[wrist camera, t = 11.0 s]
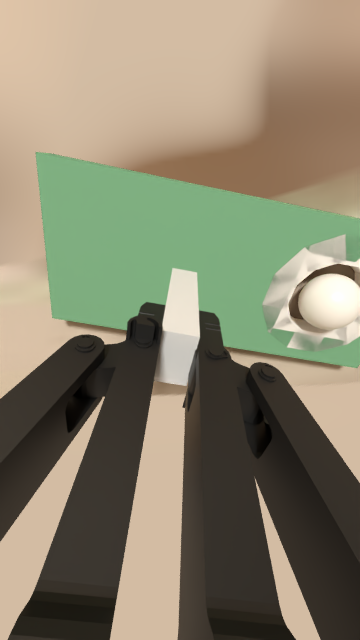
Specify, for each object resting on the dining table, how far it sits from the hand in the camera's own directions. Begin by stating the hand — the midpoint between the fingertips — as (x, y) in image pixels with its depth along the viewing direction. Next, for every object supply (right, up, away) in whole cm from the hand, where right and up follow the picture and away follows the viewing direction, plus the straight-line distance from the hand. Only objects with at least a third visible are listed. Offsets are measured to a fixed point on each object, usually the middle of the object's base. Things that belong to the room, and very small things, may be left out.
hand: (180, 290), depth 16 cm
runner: (+4, +2, +5) cm, 7 cm away
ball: (+12, 0, +4) cm, 12 cm away
